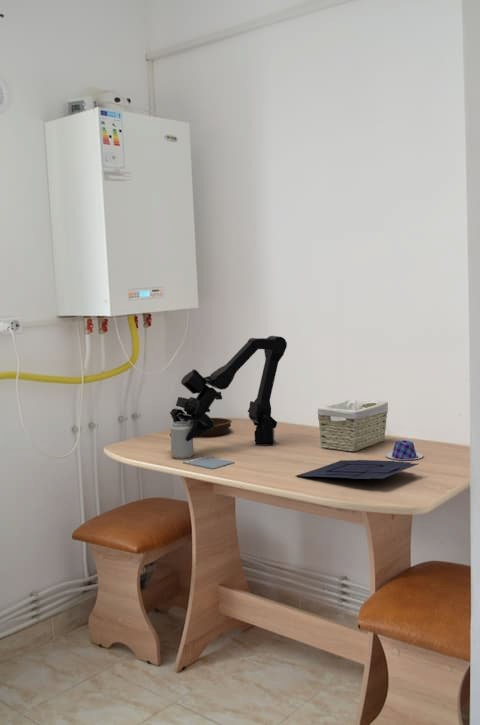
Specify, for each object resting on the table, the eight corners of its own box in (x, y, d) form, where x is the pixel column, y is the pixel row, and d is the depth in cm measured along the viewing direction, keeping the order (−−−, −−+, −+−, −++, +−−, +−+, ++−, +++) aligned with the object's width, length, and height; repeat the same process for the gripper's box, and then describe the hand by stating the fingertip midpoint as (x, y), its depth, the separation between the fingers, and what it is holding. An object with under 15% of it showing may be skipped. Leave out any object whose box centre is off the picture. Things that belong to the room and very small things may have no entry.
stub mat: (234, 463, 250) (234, 461, 250) (213, 469, 242) (213, 467, 242) (204, 457, 259) (204, 455, 259) (182, 463, 252) (182, 461, 252)
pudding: (428, 460, 246) (428, 444, 245) (393, 463, 244) (392, 447, 244) (415, 452, 258) (414, 437, 257) (380, 454, 256) (380, 439, 256)
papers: (379, 489, 210) (378, 476, 210) (295, 485, 230) (294, 473, 230) (424, 471, 227) (423, 459, 227) (342, 468, 248) (341, 457, 248)
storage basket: (351, 436, 285) (351, 397, 284) (390, 441, 275) (390, 400, 273) (316, 448, 267) (315, 407, 265) (356, 454, 257) (355, 411, 255)
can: (190, 459, 256) (189, 424, 255) (169, 459, 258) (167, 424, 256) (196, 454, 264) (194, 420, 262) (175, 454, 265) (173, 420, 264)
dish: (245, 432, 300) (244, 419, 299) (203, 441, 285) (202, 428, 284) (215, 426, 313) (215, 414, 312) (173, 435, 297) (172, 423, 297)
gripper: (173, 385, 268) (148, 421, 262) (206, 390, 254) (180, 428, 248) (192, 404, 274) (168, 440, 268) (225, 410, 260) (200, 447, 254)
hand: (178, 438), depth 259 cm, fingers open, 9 cm apart
